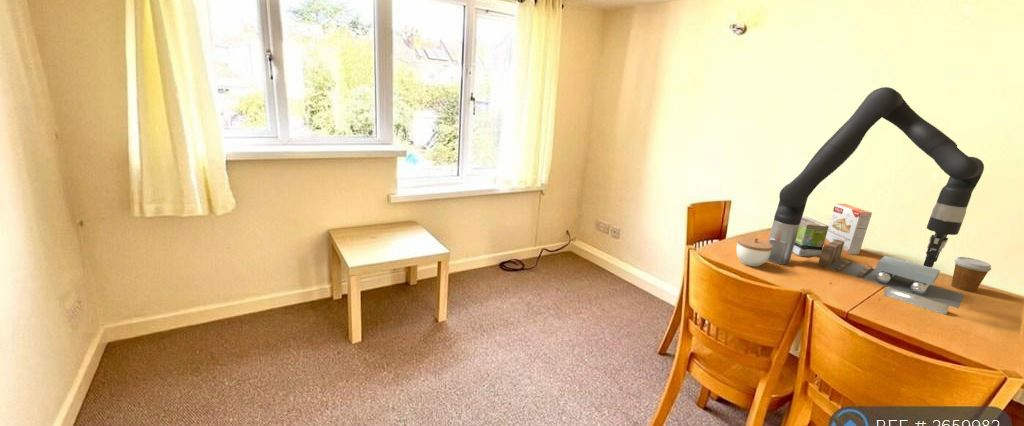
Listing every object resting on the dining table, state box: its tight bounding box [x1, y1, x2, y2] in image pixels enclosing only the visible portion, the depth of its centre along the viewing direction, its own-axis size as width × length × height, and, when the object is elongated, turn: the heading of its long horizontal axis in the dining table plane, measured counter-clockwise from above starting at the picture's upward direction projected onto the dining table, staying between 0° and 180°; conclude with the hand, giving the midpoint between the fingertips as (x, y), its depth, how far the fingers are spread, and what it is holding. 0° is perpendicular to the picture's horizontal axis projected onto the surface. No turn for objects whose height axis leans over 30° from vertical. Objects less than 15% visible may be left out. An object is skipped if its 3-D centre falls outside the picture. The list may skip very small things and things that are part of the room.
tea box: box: [792, 215, 829, 258], centre depth 190 cm, size 15×10×15 cm
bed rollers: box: [875, 271, 929, 295], centre depth 160 cm, size 16×14×4 cm
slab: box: [875, 255, 941, 286], centre depth 159 cm, size 12×16×3 cm
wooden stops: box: [817, 239, 873, 279], centre depth 172 cm, size 18×14×9 cm
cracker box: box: [823, 203, 873, 256], centre depth 193 cm, size 14×6×21 cm, turn 5°
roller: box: [882, 286, 950, 316], centre depth 145 cm, size 16×4×4 cm
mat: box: [827, 258, 965, 309], centre depth 163 cm, size 18×38×1 cm, turn 39°
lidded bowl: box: [735, 236, 773, 268], centre depth 172 cm, size 13×13×11 cm
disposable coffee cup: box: [950, 256, 992, 293], centre depth 158 cm, size 10×10×12 cm
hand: (929, 263), depth 142 cm, fingers open, 8 cm apart
